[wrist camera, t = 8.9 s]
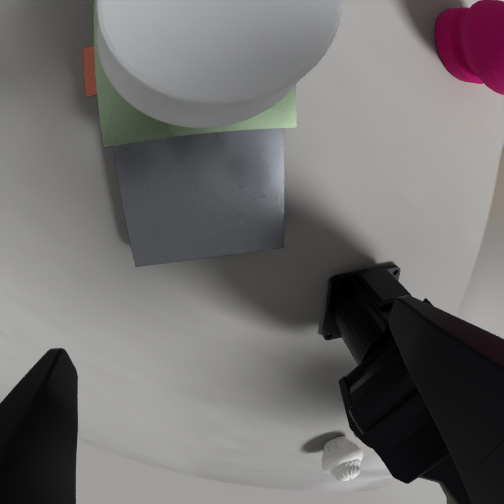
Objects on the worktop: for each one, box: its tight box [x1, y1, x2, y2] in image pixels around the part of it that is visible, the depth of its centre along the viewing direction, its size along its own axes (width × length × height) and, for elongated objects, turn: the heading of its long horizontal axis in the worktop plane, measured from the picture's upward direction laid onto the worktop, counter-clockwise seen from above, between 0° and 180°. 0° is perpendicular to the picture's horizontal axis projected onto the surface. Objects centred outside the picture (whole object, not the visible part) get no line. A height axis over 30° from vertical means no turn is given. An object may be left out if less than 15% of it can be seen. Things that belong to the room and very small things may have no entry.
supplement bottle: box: [96, 0, 342, 128], centre depth 8 cm, size 5×5×10 cm
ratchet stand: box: [83, 0, 296, 267], centre depth 13 cm, size 22×10×6 cm, turn 2°
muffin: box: [322, 436, 363, 481], centre depth 37 cm, size 6×6×7 cm
